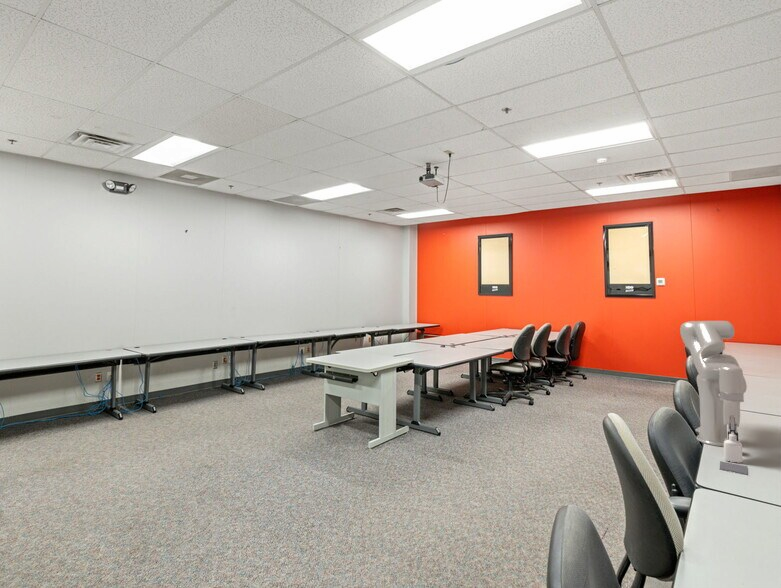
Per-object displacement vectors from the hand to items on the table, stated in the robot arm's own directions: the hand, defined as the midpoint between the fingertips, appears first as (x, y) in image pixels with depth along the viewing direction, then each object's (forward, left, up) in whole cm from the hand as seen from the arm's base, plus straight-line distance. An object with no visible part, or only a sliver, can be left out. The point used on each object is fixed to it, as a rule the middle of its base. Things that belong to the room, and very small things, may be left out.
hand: (733, 442), depth 165 cm
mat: (+8, -8, -7) cm, 14 cm away
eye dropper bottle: (+2, -2, -7) cm, 8 cm away
